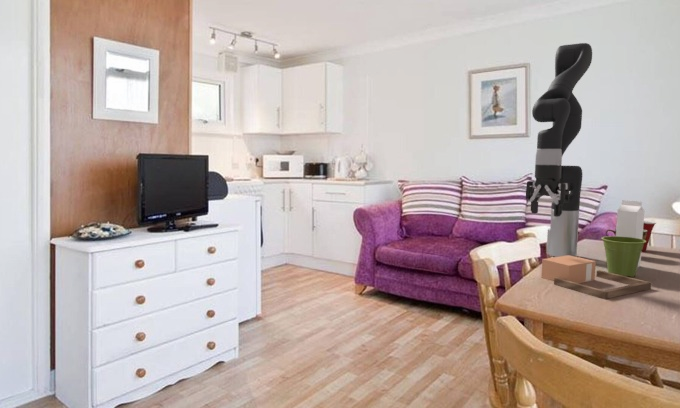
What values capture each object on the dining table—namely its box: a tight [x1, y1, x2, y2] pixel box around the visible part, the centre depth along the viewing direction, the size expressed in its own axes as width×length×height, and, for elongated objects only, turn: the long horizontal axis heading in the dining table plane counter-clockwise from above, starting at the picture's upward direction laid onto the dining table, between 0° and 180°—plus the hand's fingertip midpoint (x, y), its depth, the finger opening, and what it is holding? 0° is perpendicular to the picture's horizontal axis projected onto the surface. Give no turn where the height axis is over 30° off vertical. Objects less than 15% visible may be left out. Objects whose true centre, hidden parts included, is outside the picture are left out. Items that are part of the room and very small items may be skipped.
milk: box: [615, 199, 645, 268], centre depth 152 cm, size 6×6×22 cm
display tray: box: [553, 269, 652, 300], centre depth 129 cm, size 15×20×2 cm
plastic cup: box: [641, 220, 657, 252], centre depth 179 cm, size 11×11×12 cm
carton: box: [540, 255, 597, 284], centre depth 137 cm, size 9×12×6 cm
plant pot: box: [600, 235, 646, 278], centre depth 142 cm, size 12×12×11 cm
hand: (545, 214), depth 145 cm, fingers open, 8 cm apart
